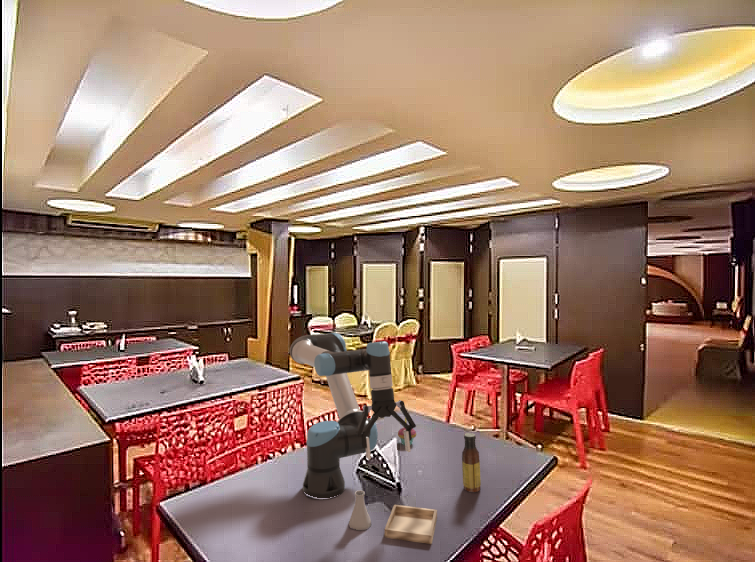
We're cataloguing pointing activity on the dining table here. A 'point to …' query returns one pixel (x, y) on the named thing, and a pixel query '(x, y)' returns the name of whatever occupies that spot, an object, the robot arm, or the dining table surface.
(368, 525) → the flask
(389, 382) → the robot arm
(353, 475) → the dining table surface
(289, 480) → the dining table surface
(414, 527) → the serving tray
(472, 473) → the sauce bottle
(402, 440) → the cupcake
